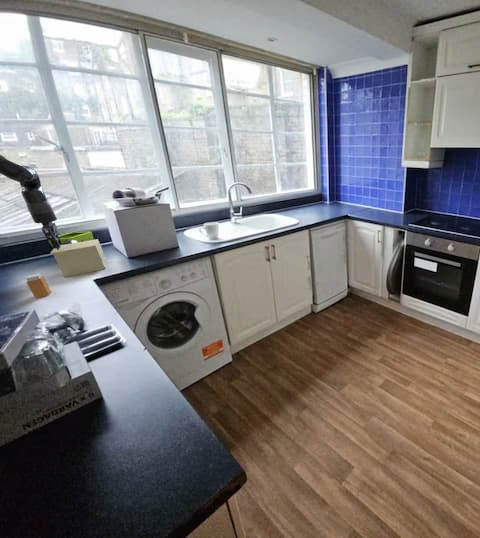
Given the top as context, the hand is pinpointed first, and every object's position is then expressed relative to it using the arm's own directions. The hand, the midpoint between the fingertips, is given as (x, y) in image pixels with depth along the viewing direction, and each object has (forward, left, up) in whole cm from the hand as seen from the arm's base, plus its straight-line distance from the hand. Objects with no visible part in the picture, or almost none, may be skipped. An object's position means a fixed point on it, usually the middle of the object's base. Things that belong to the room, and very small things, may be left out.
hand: (58, 246), depth 141 cm
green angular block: (0, +30, -14) cm, 33 cm away
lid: (+6, 0, -2) cm, 6 cm away
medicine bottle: (+1, +16, -14) cm, 21 cm away
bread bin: (+6, 0, -14) cm, 15 cm away
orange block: (-6, -26, -14) cm, 30 cm away
